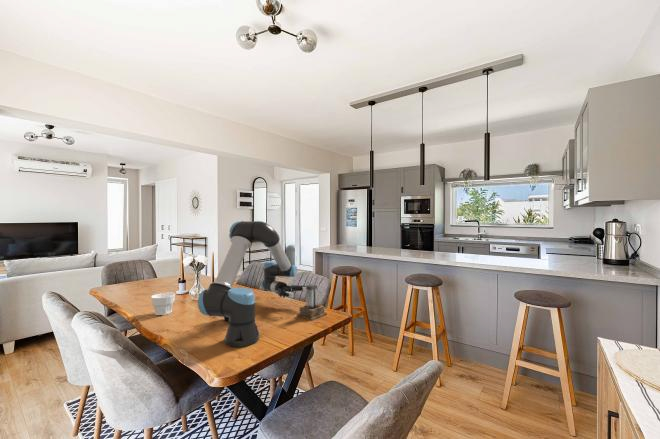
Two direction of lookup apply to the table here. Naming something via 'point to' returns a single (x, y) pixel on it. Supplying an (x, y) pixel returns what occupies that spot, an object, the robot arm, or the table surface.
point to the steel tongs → (311, 296)
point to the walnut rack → (312, 312)
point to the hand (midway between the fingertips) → (302, 293)
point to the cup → (163, 303)
